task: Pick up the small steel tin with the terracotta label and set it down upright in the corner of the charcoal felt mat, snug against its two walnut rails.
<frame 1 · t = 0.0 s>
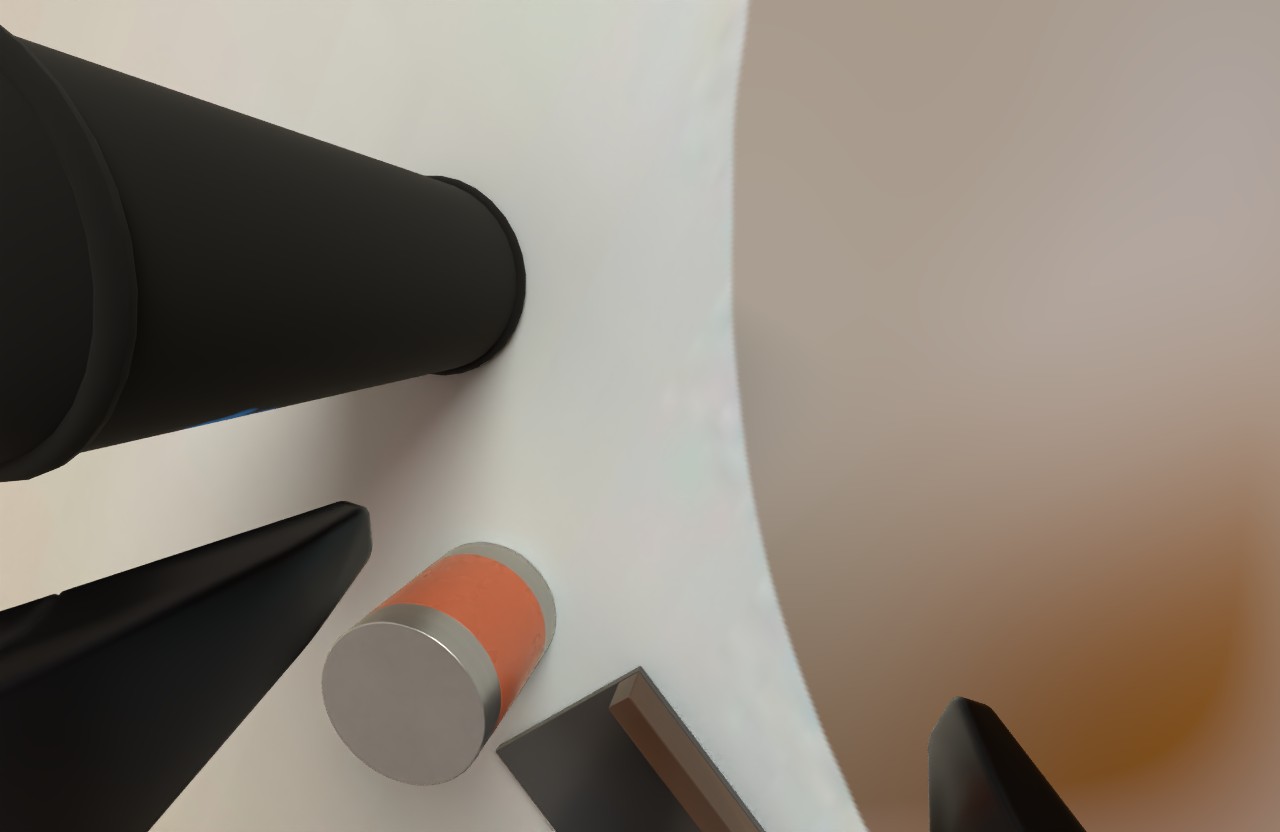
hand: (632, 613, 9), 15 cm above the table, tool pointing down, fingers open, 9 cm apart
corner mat: (653, 822, 28), on the table
steel tin: (490, 607, 28), on the table
aerosol can: (440, 278, 25), on the table
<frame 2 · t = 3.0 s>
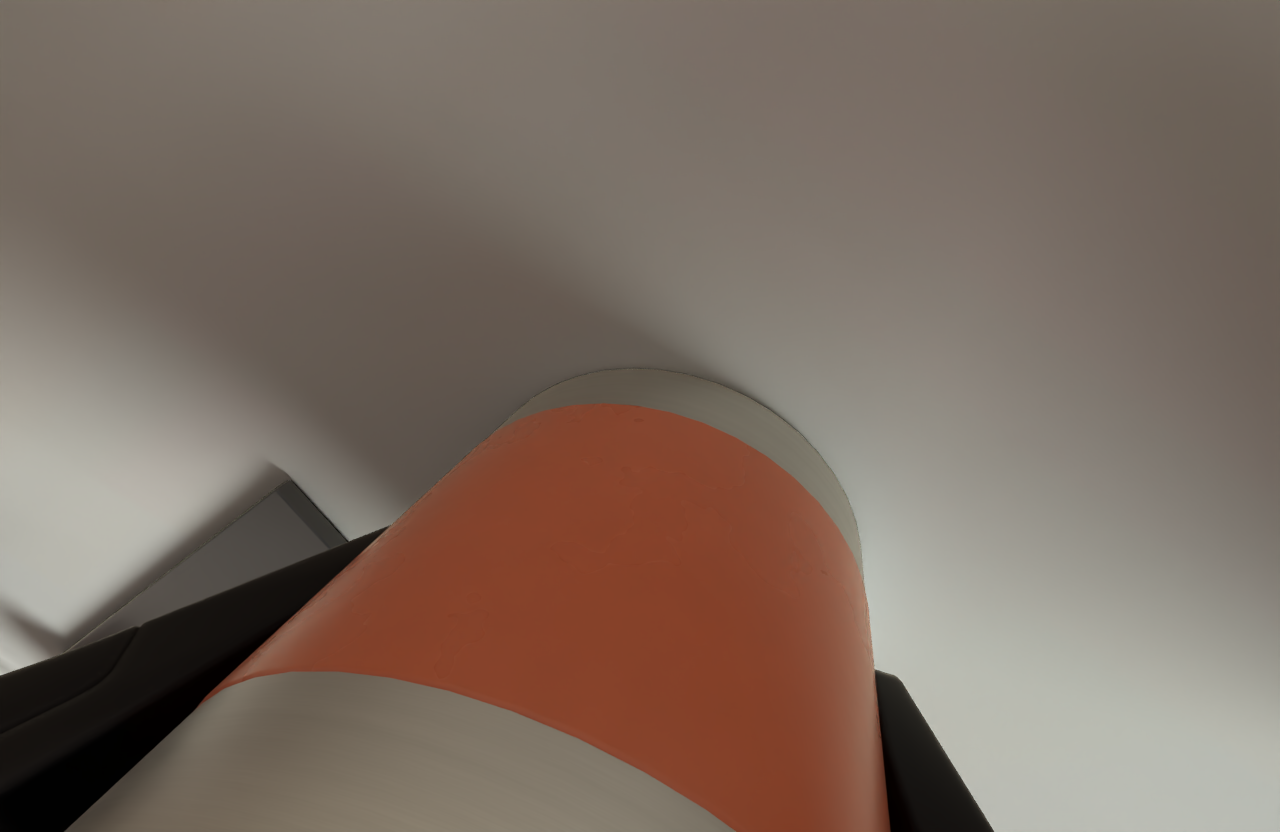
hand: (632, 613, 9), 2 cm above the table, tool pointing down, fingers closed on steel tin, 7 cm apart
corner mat: (279, 708, 16), on the table
steel tin: (655, 547, 10), on the table, touching gripper
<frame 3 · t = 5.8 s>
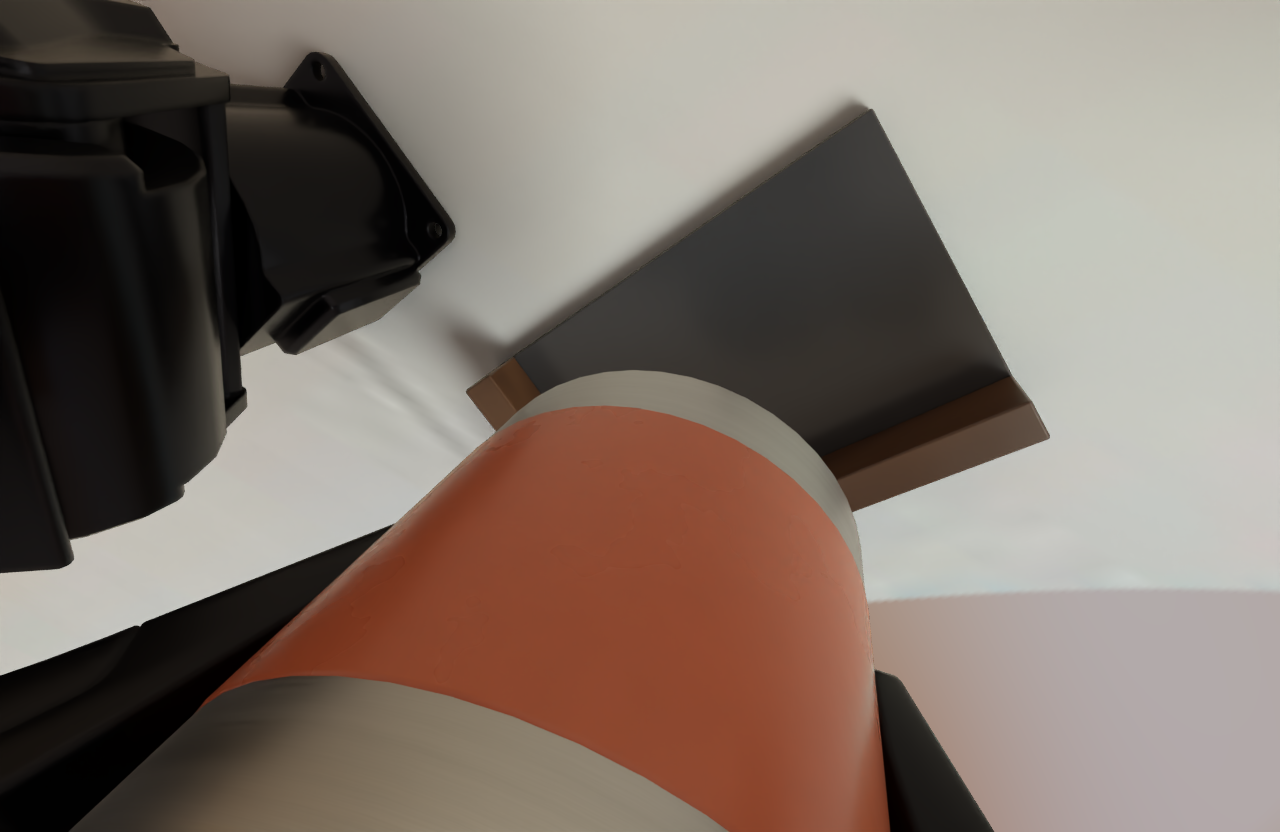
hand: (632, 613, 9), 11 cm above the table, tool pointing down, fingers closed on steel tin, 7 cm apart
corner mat: (730, 383, 19), on the table
steel tin: (655, 549, 10), point 10 cm above the table, touching gripper
when the fingers open (2 cm above the table, at t = 8.7 s): steel tin stays where it is, resting on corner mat.
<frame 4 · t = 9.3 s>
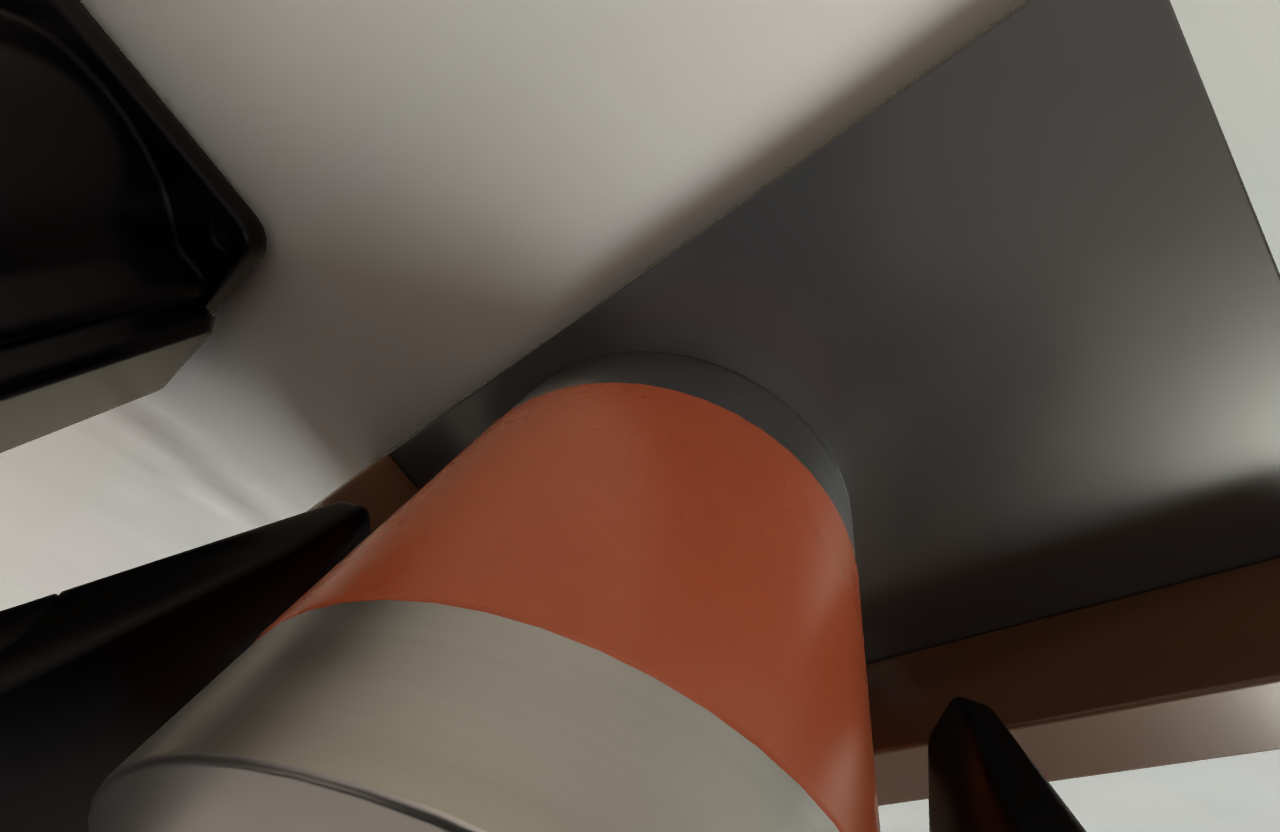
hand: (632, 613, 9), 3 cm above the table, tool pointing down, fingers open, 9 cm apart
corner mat: (768, 508, 10), on the table
steel tin: (659, 524, 11), resting on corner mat
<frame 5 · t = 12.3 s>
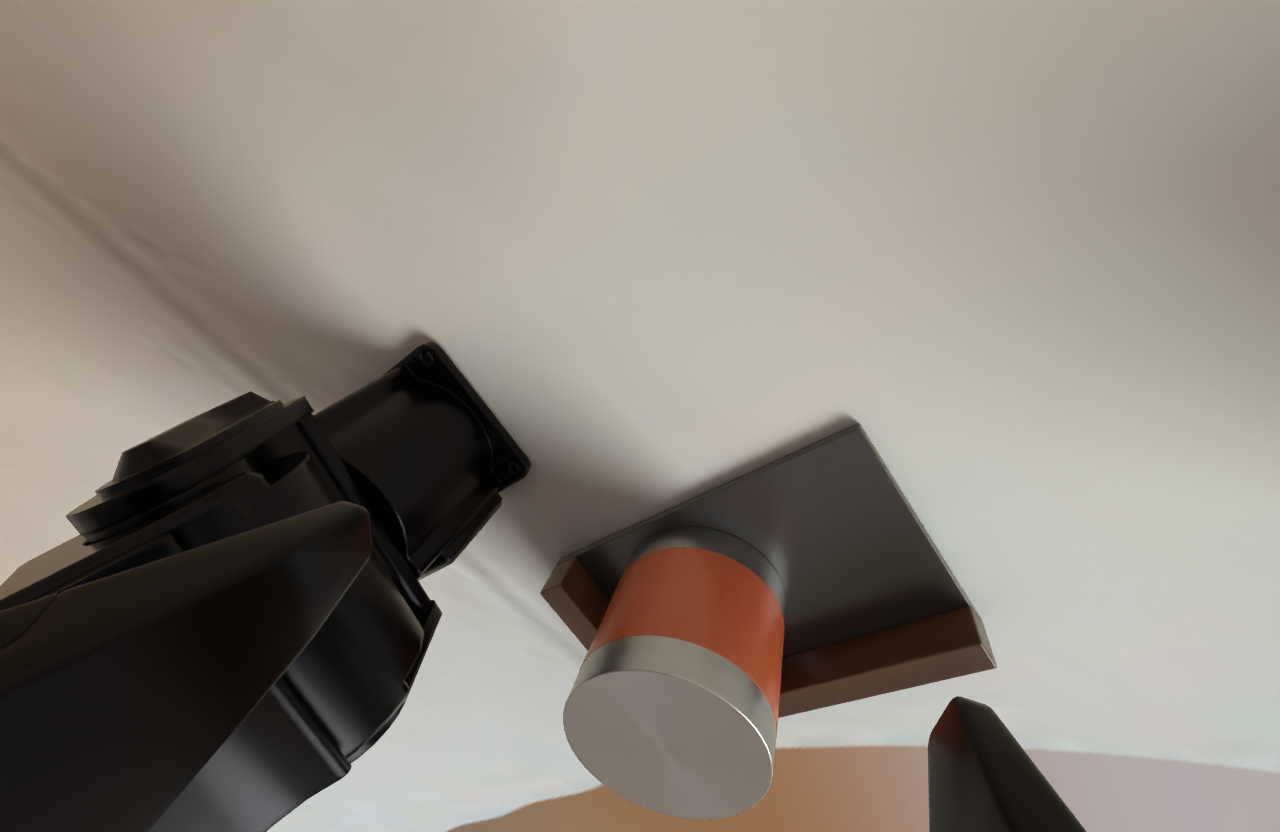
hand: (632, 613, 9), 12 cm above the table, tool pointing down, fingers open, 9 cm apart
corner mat: (751, 587, 24), on the table
steel tin: (703, 592, 24), resting on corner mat
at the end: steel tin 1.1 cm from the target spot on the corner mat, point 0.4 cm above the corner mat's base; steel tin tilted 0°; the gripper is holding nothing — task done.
